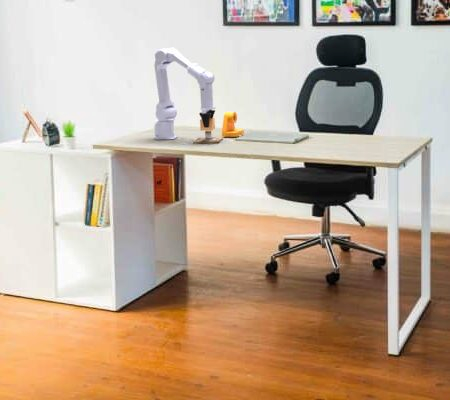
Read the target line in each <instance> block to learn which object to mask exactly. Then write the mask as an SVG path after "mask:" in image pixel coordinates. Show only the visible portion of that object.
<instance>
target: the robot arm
mask: <svg viewBox="0 0 450 400" xmlns="http://www.w3.org/2000/svg"><path fill="white" fill-rule="evenodd" d="M154 57H155V61H154V73H155V81H156V87H157V96H158V103H157V104H156V106H155V109H156V110H155V117H156V119H157V120H155V122H154V127H153V128H154V140H175V139H176V138H177V137H178V136H177V135H176V134H175V120H176V119H175V118H176V116H177V114H178V113H177V108H176V107H175V104H174V103H175V102H173V101H172V100H171V94H170V93H171V92H170V88H169V80H168V73H167V72H168V71H167V68H168V67H169V65H170V64H171V63H173V62H174V63H177V64H178V65H180V66H181V67H183V68H184V69H186V70H187V73H188V74H189V75H190V76H191V77H192V78H194V79H195V80H196V81H197V83H198V86H199V90H200V91H199V93H200V110H201V112H199V116H200V119H202V121H203V125H204V128H209V121H210V118H214V115H215V112H216V110H215V109H216V106H214V98H213V96H214V93H213V83H214V82H215V75H214V74H213V73H212V72H211V71H206V69H205V68H202V66H199V63H195V62H194V63H191V62H190V61H189V60H188V59H187V58H186V57H185V56H183V55H182V54H181V52H179V50H177V49H176V48H175V47H169V48H167V47H166V48H159V49H157V51H156V52H155V53H154Z"/></svg>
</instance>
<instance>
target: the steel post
mask: <svg viewBox="0 0 450 400" xmlns="http://www.w3.org/2000/svg"><path fill="white" fill-rule="evenodd" d="M204 138H205V139H206V140H210V139H212V130H204Z"/></svg>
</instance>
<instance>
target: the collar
mask: <svg viewBox="0 0 450 400" xmlns="http://www.w3.org/2000/svg"><path fill="white" fill-rule="evenodd" d="M215 121H216V119H215V117H213V118H210V121H209V128H204V125H203V121H202V118H200V120H199V123H200V124H199V125H200V131H214V130H215V129H216V123H215Z"/></svg>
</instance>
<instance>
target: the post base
mask: <svg viewBox="0 0 450 400" xmlns="http://www.w3.org/2000/svg"><path fill="white" fill-rule="evenodd" d="M211 137H212V136H211ZM223 140H224V136H221V137H217V136H216V137H212V139H210V140H206V139H205V137H198V138H196V139H195V140H194V141H193V144H195V145H196V144H197V145H198V144H199V145H200V144H201V145H203V144H205V145H207V144H209V145H210V144H215V145H216V144H217V145H218V144H220V143H221V142H222V141H223Z"/></svg>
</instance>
